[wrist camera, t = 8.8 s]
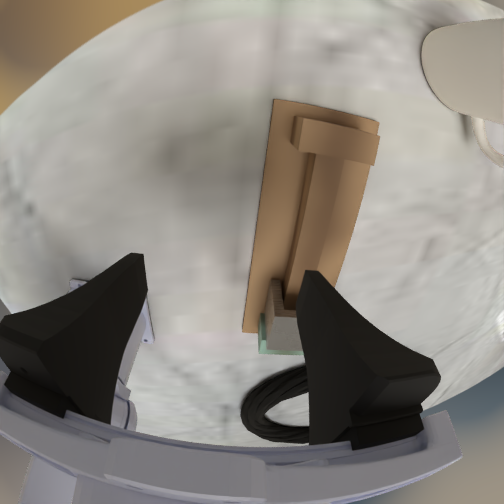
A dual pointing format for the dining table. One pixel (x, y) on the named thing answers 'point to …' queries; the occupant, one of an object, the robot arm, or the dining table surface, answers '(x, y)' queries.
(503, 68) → the cup
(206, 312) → the dining table surface
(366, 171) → the rail
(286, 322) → the keeper
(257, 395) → the cable lock
